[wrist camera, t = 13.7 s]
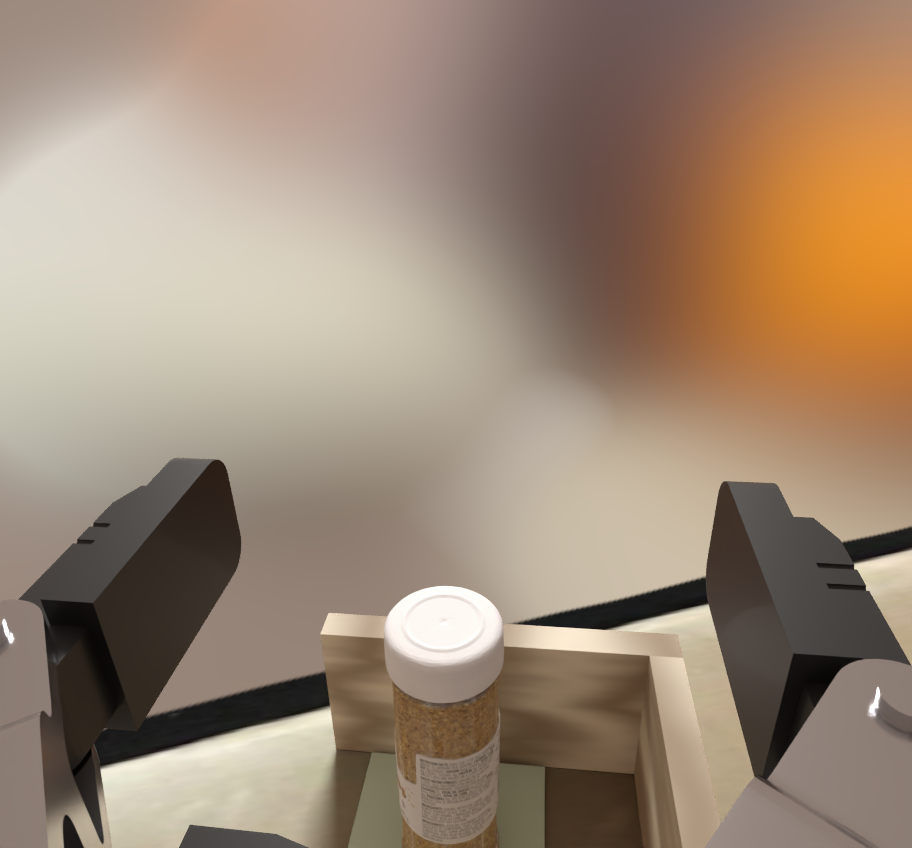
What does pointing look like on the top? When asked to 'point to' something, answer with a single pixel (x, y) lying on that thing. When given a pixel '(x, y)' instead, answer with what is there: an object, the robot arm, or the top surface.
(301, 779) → the top surface
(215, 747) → the top surface
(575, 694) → the light wood l-shaped panel
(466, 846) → the sprinkles bottle
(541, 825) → the pad
